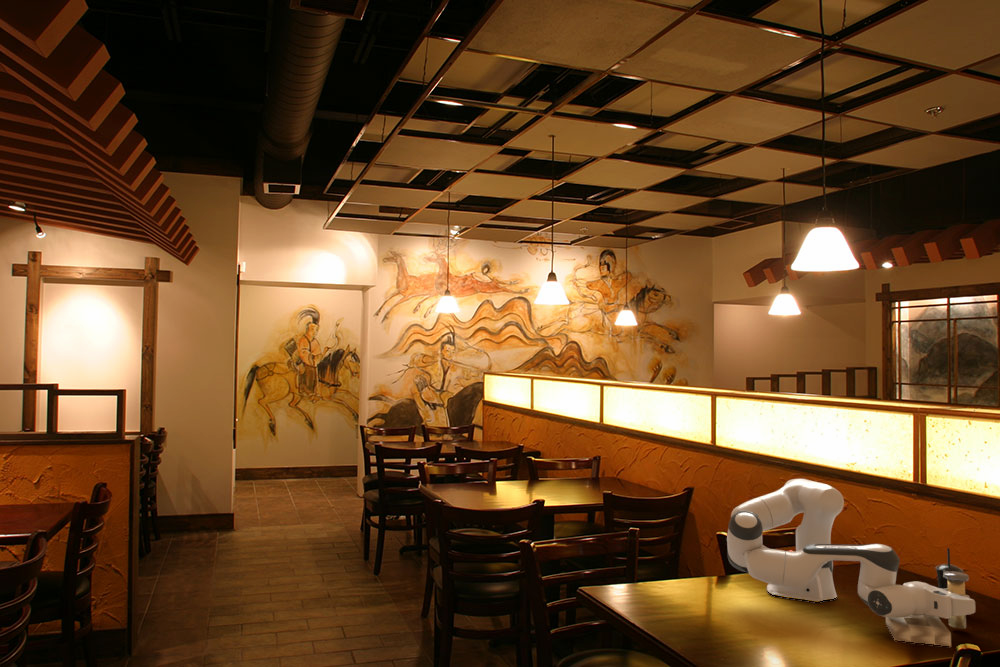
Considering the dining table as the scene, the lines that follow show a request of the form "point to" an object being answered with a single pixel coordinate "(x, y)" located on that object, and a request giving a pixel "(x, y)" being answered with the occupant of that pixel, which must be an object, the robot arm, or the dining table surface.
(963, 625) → the beige jar with lid
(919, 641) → the block
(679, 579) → the dining table surface
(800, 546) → the robot arm
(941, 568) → the drinking cup
